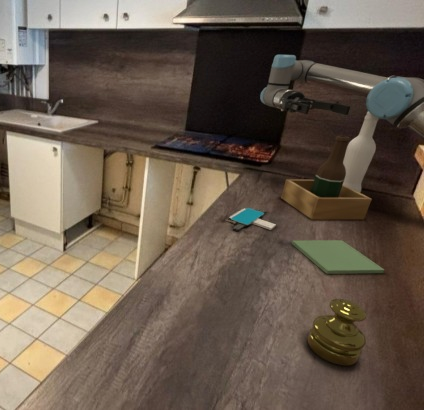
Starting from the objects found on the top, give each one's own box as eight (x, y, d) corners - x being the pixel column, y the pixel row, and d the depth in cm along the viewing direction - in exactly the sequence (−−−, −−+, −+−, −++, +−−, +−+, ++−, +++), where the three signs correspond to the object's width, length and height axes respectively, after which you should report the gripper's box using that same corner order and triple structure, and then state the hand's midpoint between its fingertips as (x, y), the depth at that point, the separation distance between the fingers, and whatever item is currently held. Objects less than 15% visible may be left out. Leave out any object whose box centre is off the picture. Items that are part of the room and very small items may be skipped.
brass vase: (346, 374, 57) (368, 326, 53) (298, 345, 63) (315, 299, 59) (364, 354, 61) (385, 307, 57) (317, 328, 67) (334, 284, 63)
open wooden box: (364, 219, 111) (372, 198, 108) (311, 219, 110) (318, 198, 107) (326, 198, 127) (333, 179, 124) (280, 198, 126) (286, 179, 123)
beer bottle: (333, 206, 120) (357, 135, 110) (334, 215, 113) (359, 140, 104) (306, 201, 123) (327, 132, 113) (306, 209, 117) (328, 136, 107)
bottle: (336, 198, 127) (365, 112, 115) (328, 190, 134) (354, 108, 122) (362, 201, 125) (394, 114, 113) (352, 192, 132) (381, 110, 120)
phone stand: (258, 239, 97) (260, 234, 97) (218, 224, 105) (219, 219, 104) (285, 218, 110) (287, 213, 109) (247, 206, 118) (248, 201, 117)
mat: (383, 273, 84) (384, 269, 84) (326, 274, 83) (327, 270, 83) (340, 243, 97) (341, 240, 96) (291, 243, 96) (292, 240, 95)
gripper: (318, 111, 136) (360, 122, 117) (255, 110, 135) (287, 121, 115) (324, 91, 133) (368, 99, 114) (259, 89, 132) (294, 97, 112)
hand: (328, 110), depth 115 cm, fingers open, 13 cm apart
